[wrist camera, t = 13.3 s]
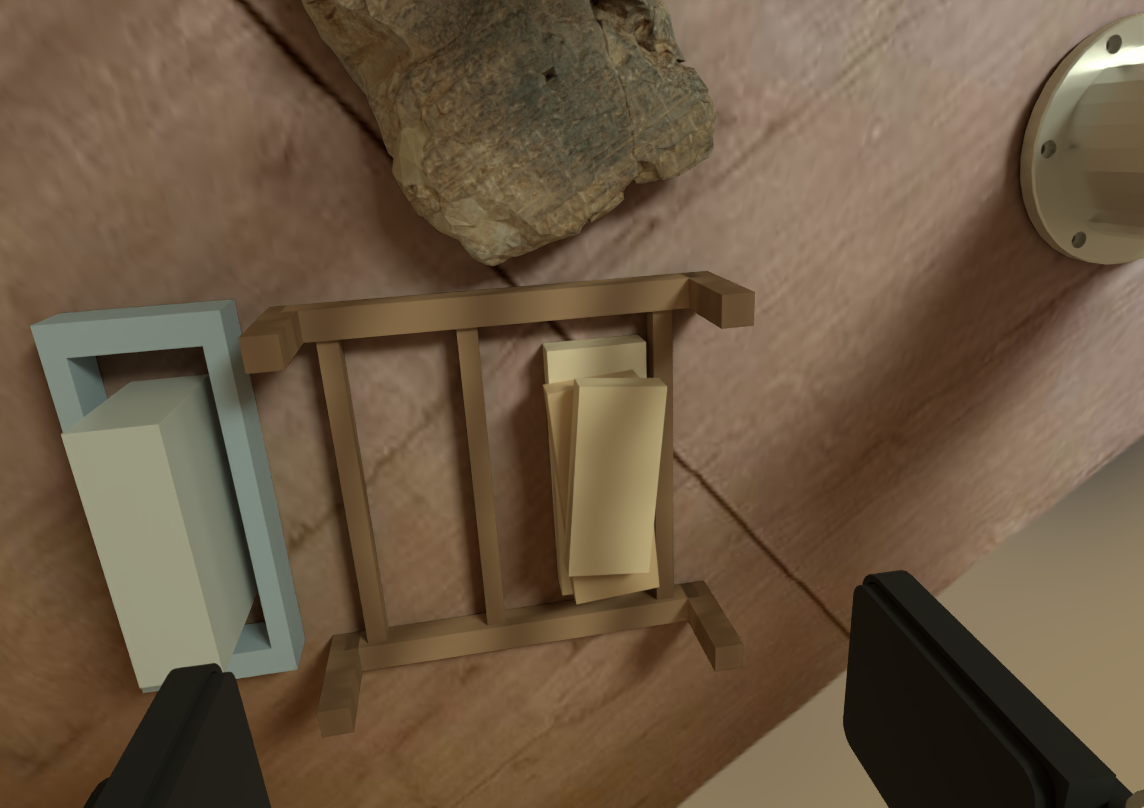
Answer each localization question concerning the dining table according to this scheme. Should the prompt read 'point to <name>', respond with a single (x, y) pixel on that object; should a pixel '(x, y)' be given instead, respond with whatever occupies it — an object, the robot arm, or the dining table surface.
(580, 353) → the offcuts
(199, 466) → the pale sage tall block
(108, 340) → the cradle
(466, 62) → the rock
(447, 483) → the dining table surface
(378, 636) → the rack
